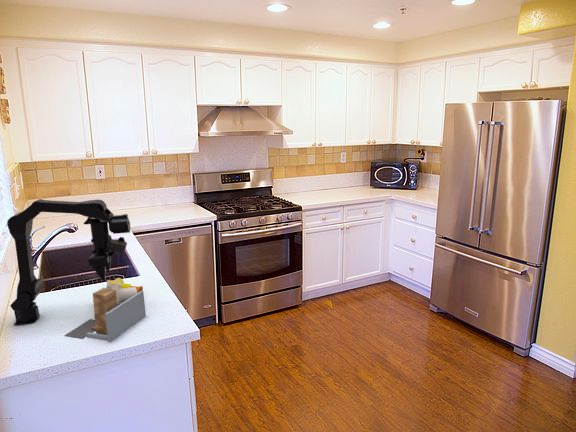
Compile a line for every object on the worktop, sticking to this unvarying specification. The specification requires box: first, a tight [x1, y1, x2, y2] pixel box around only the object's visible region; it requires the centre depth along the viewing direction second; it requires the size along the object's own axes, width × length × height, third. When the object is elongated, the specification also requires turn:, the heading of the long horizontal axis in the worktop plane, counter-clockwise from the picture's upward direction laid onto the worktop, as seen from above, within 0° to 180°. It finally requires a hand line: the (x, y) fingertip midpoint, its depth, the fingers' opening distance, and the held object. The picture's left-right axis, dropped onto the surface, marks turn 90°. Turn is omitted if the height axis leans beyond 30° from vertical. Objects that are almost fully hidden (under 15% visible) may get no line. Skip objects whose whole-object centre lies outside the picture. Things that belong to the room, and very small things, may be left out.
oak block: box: [91, 287, 118, 335], centre depth 140 cm, size 9×5×15 cm, turn 74°
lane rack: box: [86, 290, 147, 343], centre depth 144 cm, size 10×19×10 cm, turn 164°
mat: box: [64, 318, 96, 340], centre depth 144 cm, size 8×12×1 cm, turn 164°
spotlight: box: [105, 285, 137, 306], centre depth 164 cm, size 8×11×8 cm
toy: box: [106, 277, 144, 293], centre depth 175 cm, size 5×15×10 cm
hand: (105, 275), depth 154 cm, fingers open, 9 cm apart
